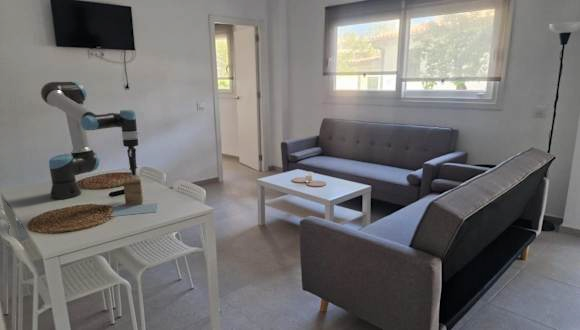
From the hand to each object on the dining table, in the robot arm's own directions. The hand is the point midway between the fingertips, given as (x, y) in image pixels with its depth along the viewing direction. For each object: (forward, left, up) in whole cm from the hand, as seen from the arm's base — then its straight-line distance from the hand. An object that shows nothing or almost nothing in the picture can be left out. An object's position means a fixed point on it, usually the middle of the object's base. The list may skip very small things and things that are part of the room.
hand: (134, 180), depth 203 cm
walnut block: (+10, 0, -11) cm, 14 cm away
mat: (+20, 0, -10) cm, 23 cm away
